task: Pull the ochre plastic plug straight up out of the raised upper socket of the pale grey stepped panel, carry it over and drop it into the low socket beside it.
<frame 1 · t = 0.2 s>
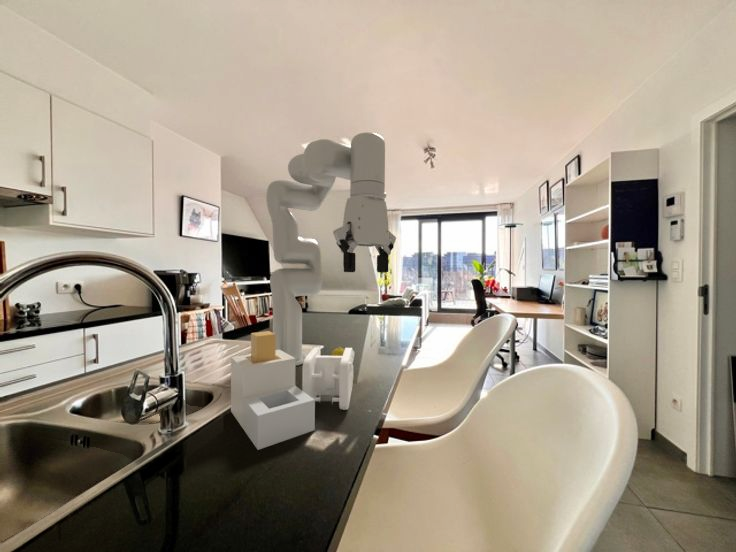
hand: (366, 272, 67), 31 cm above the worktop, tool pointing down, fingers open, 9 cm apart
lemon: (339, 373, 93), on the worktop
socket panel: (270, 420, 64), on the worktop
plug: (263, 370, 67), point 9 cm above the worktop, touching socket panel
cable organizer: (330, 401, 74), on the worktop
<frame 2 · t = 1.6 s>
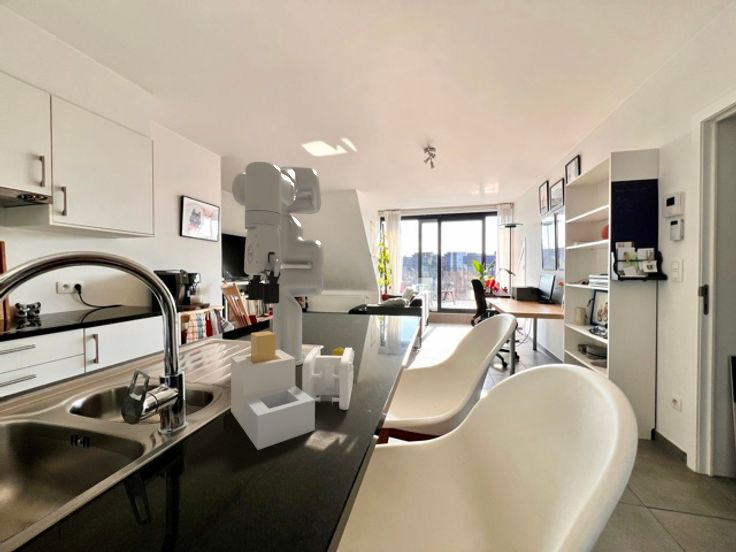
hand: (262, 301, 66), 24 cm above the worktop, tool pointing down, fingers open, 9 cm apart
nothing on the worktop moved.
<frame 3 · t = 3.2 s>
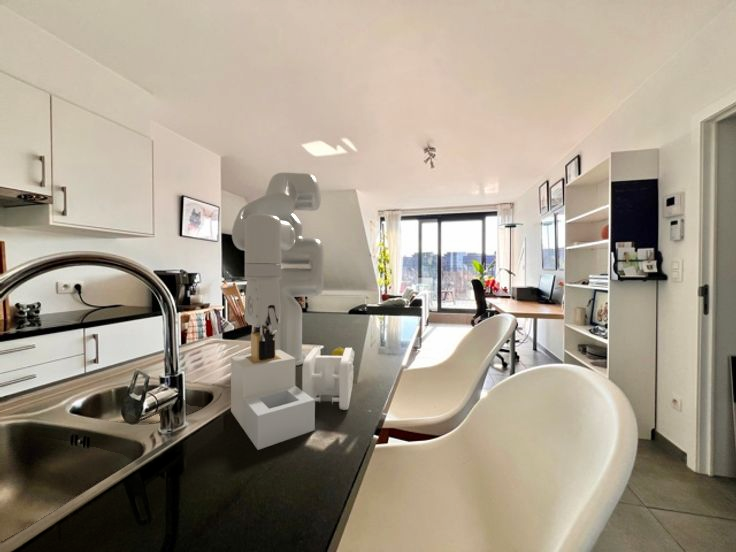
hand: (263, 355, 67), 13 cm above the worktop, tool pointing down, fingers closed on plug, 4 cm apart
plug: (263, 370, 67), point 9 cm above the worktop, touching gripper, socket panel
everything else where it was.
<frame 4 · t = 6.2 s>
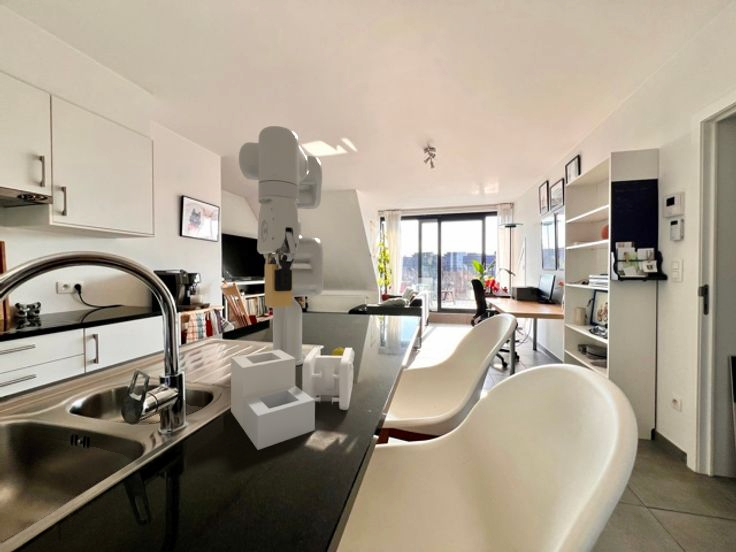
hand: (278, 289, 60), 27 cm above the worktop, tool pointing down, fingers closed on plug, 4 cm apart
plug: (278, 305, 60), point 24 cm above the worktop, touching gripper
everything else where it was.
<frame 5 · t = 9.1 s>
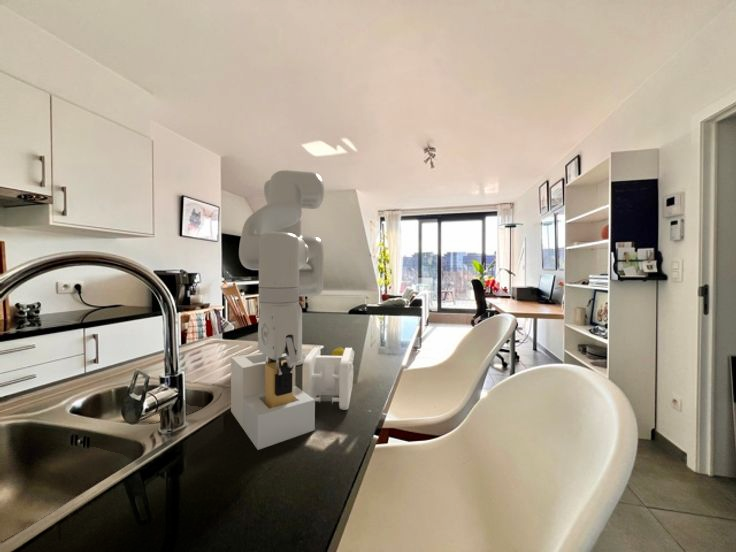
hand: (278, 389, 60), 8 cm above the worktop, tool pointing down, fingers closed on plug, 4 cm apart
plug: (278, 405, 60), point 5 cm above the worktop, touching gripper
everything else where it was.
when the fingers open (8 cm above the worktop, at t = 9.1 s): plug drops 1 cm, resting on socket panel.
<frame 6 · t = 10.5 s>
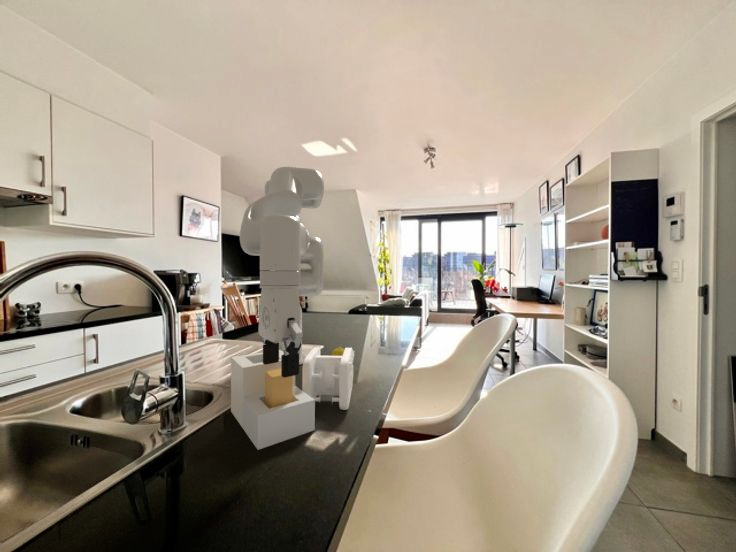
hand: (280, 368, 59), 12 cm above the worktop, tool pointing down, fingers open, 9 cm apart
plug: (278, 412, 60), point 3 cm above the worktop, touching socket panel
everything else where it was.
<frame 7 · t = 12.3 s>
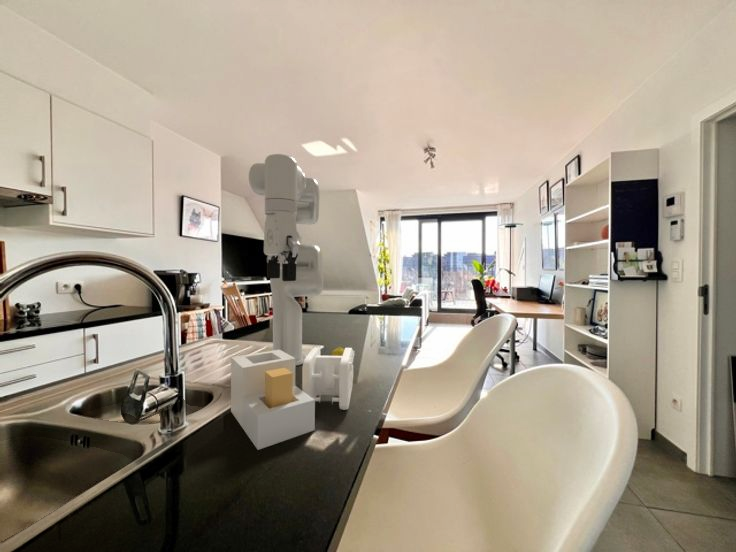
hand: (281, 279, 75), 29 cm above the worktop, tool pointing down, fingers open, 9 cm apart
nothing on the worktop moved.
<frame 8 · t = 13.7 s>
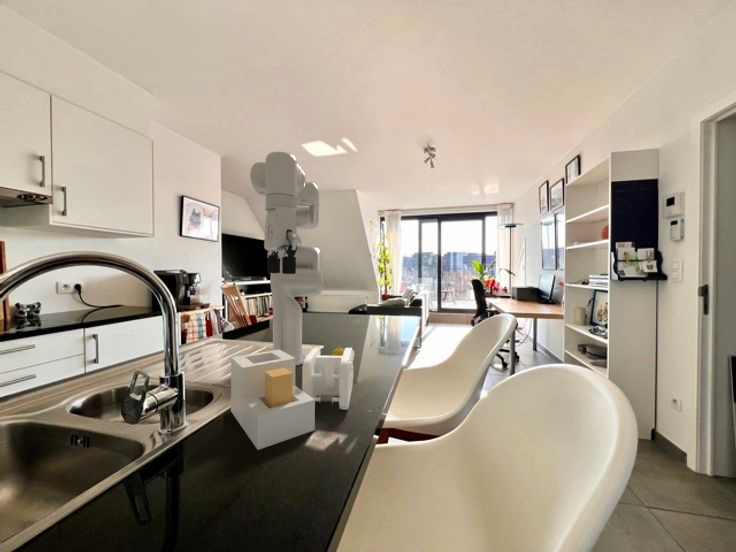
hand: (281, 273, 77), 30 cm above the worktop, tool pointing down, fingers open, 9 cm apart
nothing on the worktop moved.
at the end: plug 0.1 cm from the target spot on the socket panel, point 3.3 cm above the socket panel's base; plug tilted 0°; the gripper is holding nothing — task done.
